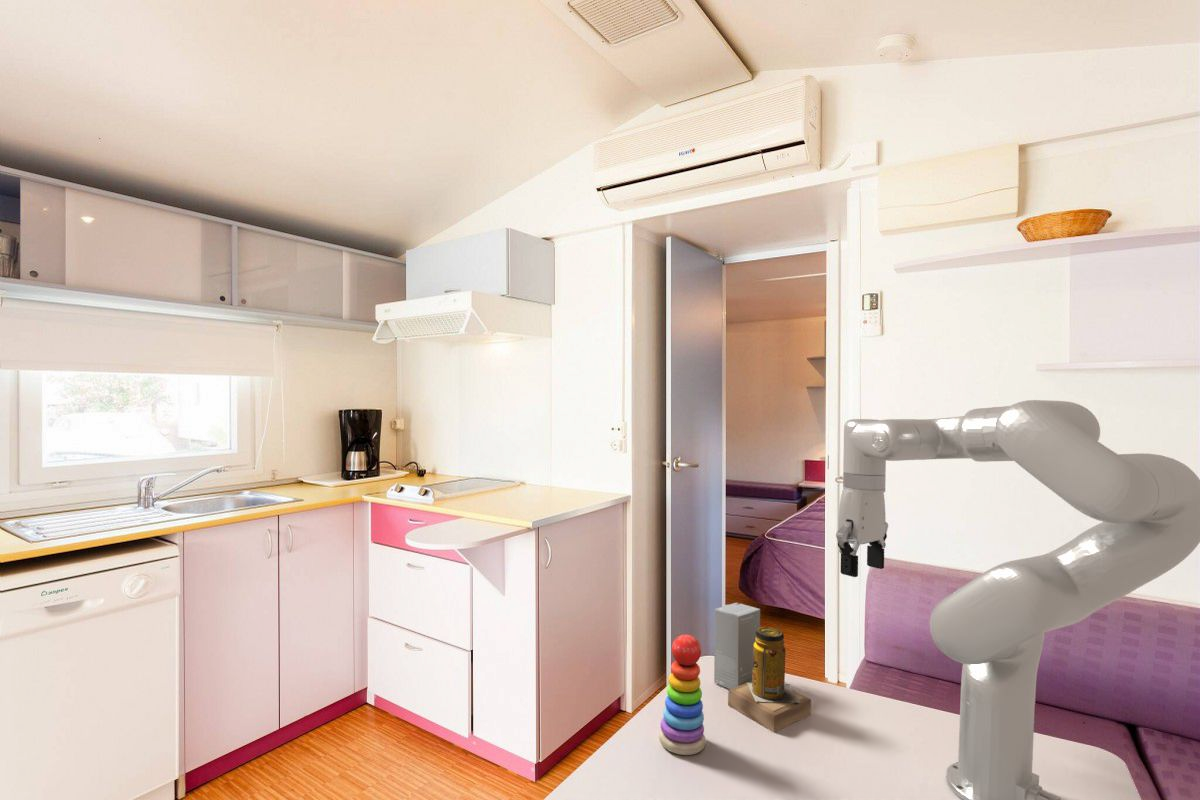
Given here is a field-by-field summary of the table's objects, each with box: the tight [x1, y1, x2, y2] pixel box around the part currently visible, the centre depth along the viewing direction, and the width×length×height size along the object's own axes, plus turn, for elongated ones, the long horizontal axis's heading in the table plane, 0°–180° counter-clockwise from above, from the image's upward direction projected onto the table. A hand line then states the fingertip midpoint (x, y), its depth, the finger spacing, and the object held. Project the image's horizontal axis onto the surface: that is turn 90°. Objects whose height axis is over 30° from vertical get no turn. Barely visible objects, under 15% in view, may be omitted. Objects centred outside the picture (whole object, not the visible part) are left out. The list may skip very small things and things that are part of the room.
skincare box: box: [713, 602, 761, 690], centre depth 125 cm, size 8×7×16 cm
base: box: [727, 681, 812, 733], centre depth 115 cm, size 11×11×3 cm
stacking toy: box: [658, 634, 706, 756], centre depth 103 cm, size 8×8×19 cm
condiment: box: [747, 626, 800, 703], centre depth 115 cm, size 7×8×12 cm
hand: (862, 571), depth 114 cm, fingers open, 9 cm apart
